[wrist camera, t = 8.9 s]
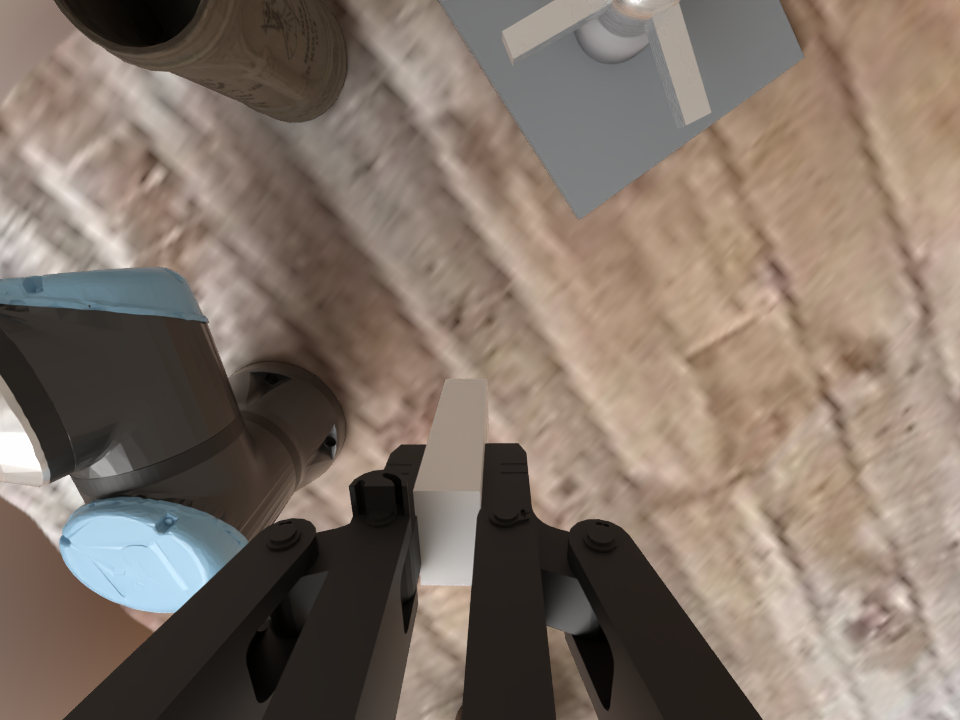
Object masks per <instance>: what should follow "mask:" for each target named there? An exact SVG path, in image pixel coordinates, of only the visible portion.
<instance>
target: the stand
mask: <svg viewBox="0 0 960 720" xmlns="http://www.w3.org/2000/svg"><path fill="white" fill-rule="evenodd" d="M552 1H554V0H438V2H439V3H440V5H441V6H442V8H443V9H444V11H445V12H446V14H447V16H448V17H449V19H450V20H451V22H452V23H453V25H454V27H455V28H456V30H457V31H458V33H459V34H460V36H461V38H462V39H463V41H464V42H465V44H466V45H467V47H468V48H469V50H470V52H471V53H472V55H473V56H474V58H475V59H476V61H477V63H478V64H479V66H480V67H481V69H482V70H483V72H484V74H485V75H486V77H487V78H488V80H489V81H490V83H491V84H492V86H493V88H494V89H495V91H496V92H497V94H498V95H499V97H500V99H501V100H502V102H503V103H504V105H505V106H506V108H507V110H508V111H509V113H510V114H511V116H512V117H513V119H514V121H515V122H516V124H517V125H518V127H519V128H520V130H521V131H522V133H523V135H524V136H525V138H526V139H527V141H528V142H529V144H530V146H531V147H532V149H533V150H534V152H535V153H536V155H537V157H538V158H539V160H540V161H541V163H542V164H543V166H544V167H545V169H546V171H547V172H548V174H549V175H550V177H551V178H552V180H553V182H554V183H555V185H556V186H557V188H558V189H559V191H560V193H561V194H562V196H563V197H564V199H565V200H566V202H567V203H568V205H569V207H570V208H571V210H572V211H573V213H574V214H575V216H576V218H577V219H581V218H583V217H584V216H585V215H587V214H588V213H590V212H591V211H592V210H594V209H595V208H596V207H598V206H599V205H601V204H602V203H603V202H605V201H606V200H608V199H609V198H610V197H612V196H613V195H614V194H616V193H617V192H619V191H620V190H621V189H623V188H624V187H626V186H627V185H628V184H630V183H631V182H633V181H634V180H635V179H637V178H638V177H639V176H641V175H642V174H644V173H645V172H646V171H648V170H649V169H651V168H652V167H653V166H655V165H656V164H657V163H659V162H660V161H662V160H663V159H664V158H666V157H667V156H669V155H670V154H671V153H673V152H674V151H676V150H677V149H678V148H680V147H681V146H682V145H684V144H685V143H687V142H688V141H689V140H691V139H692V138H694V137H695V136H696V135H698V134H699V133H700V132H702V131H703V130H705V129H706V128H707V127H709V126H710V125H712V124H713V123H714V122H716V121H717V120H719V119H720V118H721V117H723V116H724V115H725V114H727V113H728V112H730V111H731V110H732V109H734V108H735V107H737V106H738V105H739V104H741V103H742V102H743V101H745V100H746V99H748V98H749V97H750V96H752V95H753V94H755V93H756V92H757V91H759V90H760V89H762V88H763V87H764V86H766V85H767V84H768V83H770V82H771V81H773V80H774V79H775V78H777V77H778V76H780V75H781V74H782V73H784V72H785V71H786V70H788V69H789V68H791V67H792V66H793V65H795V64H796V63H798V62H799V61H800V60H802V59H803V58H805V57H804V55H803V53H802V50H801V48H800V46H799V44H798V41H797V39H796V37H795V35H794V32H793V30H792V28H791V26H790V23H789V21H788V19H787V16H786V14H785V12H784V10H783V7H782V5H781V3H780V1H779V0H680V1H679V5H680V8H681V11H682V15H683V18H684V21H685V25H686V28H687V32H688V35H689V38H690V42H691V45H692V48H693V52H694V55H695V59H696V62H697V65H698V69H699V72H700V75H701V79H702V82H703V86H704V89H705V92H706V96H707V99H708V102H709V106H710V109H711V113H710V114H708V115H706V116H704V117H702V118H700V119H698V120H696V121H694V122H692V123H690V124H688V125H686V126H684V127H681V128H678V129H677V128H676V125H675V122H674V119H673V115H672V112H671V109H670V106H669V103H668V100H667V97H666V94H665V90H664V87H663V84H662V81H661V78H660V75H659V72H658V69H657V66H656V62H655V59H654V56H653V53H652V50H651V47H650V44H649V41H648V38H647V34H646V33H645V34H643V35H640V36H637V37H632V38H624V37H619V36H616V35H614V34H612V33H610V32H609V31H607V30H606V29H605V28H604V27H603V26H602V25H601V24H600V22H599V21H598V19H597V18H595V19H593V20H592V21H590V22H588V23H587V24H585V25H583V26H581V27H580V28H578V29H576V30H574V31H573V32H571V33H569V34H567V35H566V36H564V37H562V38H561V39H559V40H557V41H555V42H554V43H552V44H550V45H548V46H547V47H545V48H543V49H541V50H540V51H538V52H536V53H535V54H533V55H531V56H529V57H528V58H526V59H524V60H522V61H521V62H519V63H517V64H515V65H514V66H512V63H511V61H510V58H509V56H508V53H507V51H506V48H505V46H504V44H503V41H502V31H503V30H505V29H507V28H509V27H510V26H512V25H514V24H515V23H517V22H519V21H520V20H522V19H524V18H525V17H527V16H529V15H530V14H532V13H534V12H535V11H537V10H539V9H540V8H542V7H544V6H545V5H547V4H549V3H551V2H552Z"/></svg>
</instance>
